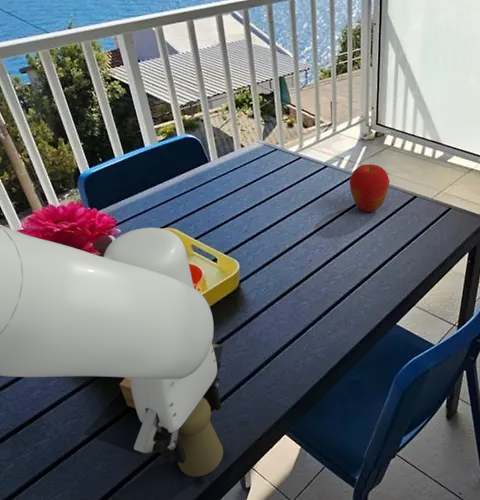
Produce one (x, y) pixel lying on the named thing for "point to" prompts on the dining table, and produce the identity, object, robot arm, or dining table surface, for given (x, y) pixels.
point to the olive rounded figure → (199, 442)
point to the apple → (369, 187)
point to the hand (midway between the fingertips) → (193, 430)
